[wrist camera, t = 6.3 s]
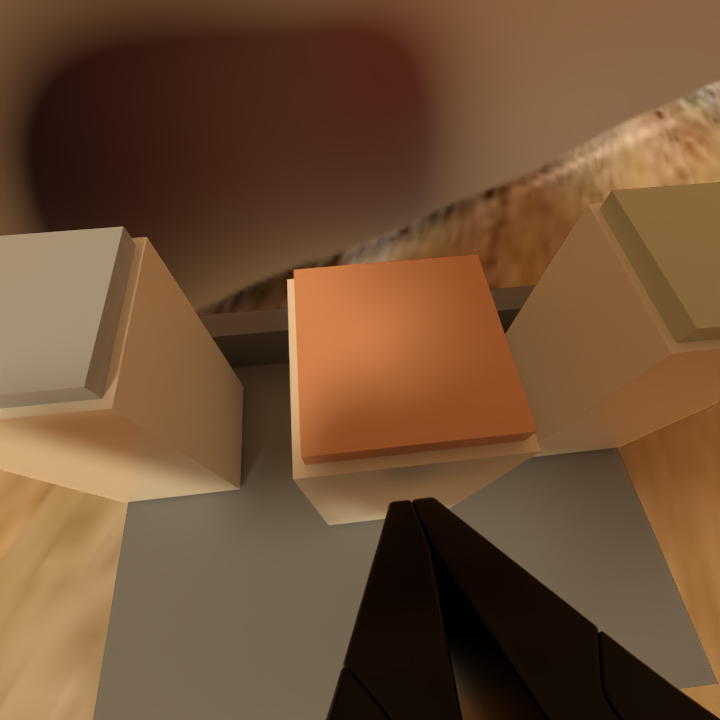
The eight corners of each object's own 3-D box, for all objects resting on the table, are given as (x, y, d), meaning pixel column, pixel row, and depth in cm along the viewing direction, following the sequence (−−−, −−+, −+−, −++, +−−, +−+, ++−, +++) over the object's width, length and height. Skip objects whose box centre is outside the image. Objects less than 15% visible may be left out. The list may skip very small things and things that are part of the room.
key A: (240, 489, 14) (94, 397, 6) (124, 502, 13) (-175, 423, 6) (243, 386, 16) (134, 218, 8) (141, 396, 15) (-69, 234, 8)
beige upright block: (620, 447, 14) (905, 318, 7) (515, 459, 14) (692, 339, 7) (579, 353, 16) (768, 172, 9) (487, 362, 16) (599, 184, 9)
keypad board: (692, 674, 12) (805, 712, 9) (105, 761, 11) (9, 835, 8) (551, 328, 18) (590, 280, 15) (162, 366, 17) (120, 322, 14)
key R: (444, 511, 13) (554, 443, 6) (328, 525, 13) (288, 471, 6) (422, 403, 15) (485, 245, 8) (321, 414, 15) (282, 262, 7)
